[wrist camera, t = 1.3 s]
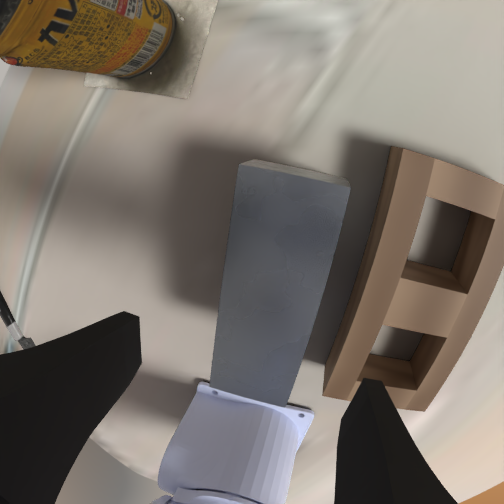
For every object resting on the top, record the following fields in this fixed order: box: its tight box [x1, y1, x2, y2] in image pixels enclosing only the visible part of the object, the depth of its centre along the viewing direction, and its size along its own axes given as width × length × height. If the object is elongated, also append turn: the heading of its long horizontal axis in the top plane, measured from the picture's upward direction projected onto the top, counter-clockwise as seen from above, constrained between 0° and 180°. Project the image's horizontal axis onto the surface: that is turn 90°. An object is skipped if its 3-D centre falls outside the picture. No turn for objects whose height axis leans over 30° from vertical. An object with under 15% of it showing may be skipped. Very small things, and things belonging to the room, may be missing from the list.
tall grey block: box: [209, 159, 351, 408], centre depth 16 cm, size 4×11×6 cm, turn 171°
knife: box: [0, 291, 35, 349], centre depth 30 cm, size 32×4×1 cm, turn 27°
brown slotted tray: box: [322, 146, 504, 412], centre depth 16 cm, size 7×15×3 cm, turn 171°
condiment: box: [0, 0, 218, 99], centre depth 10 cm, size 7×8×12 cm
